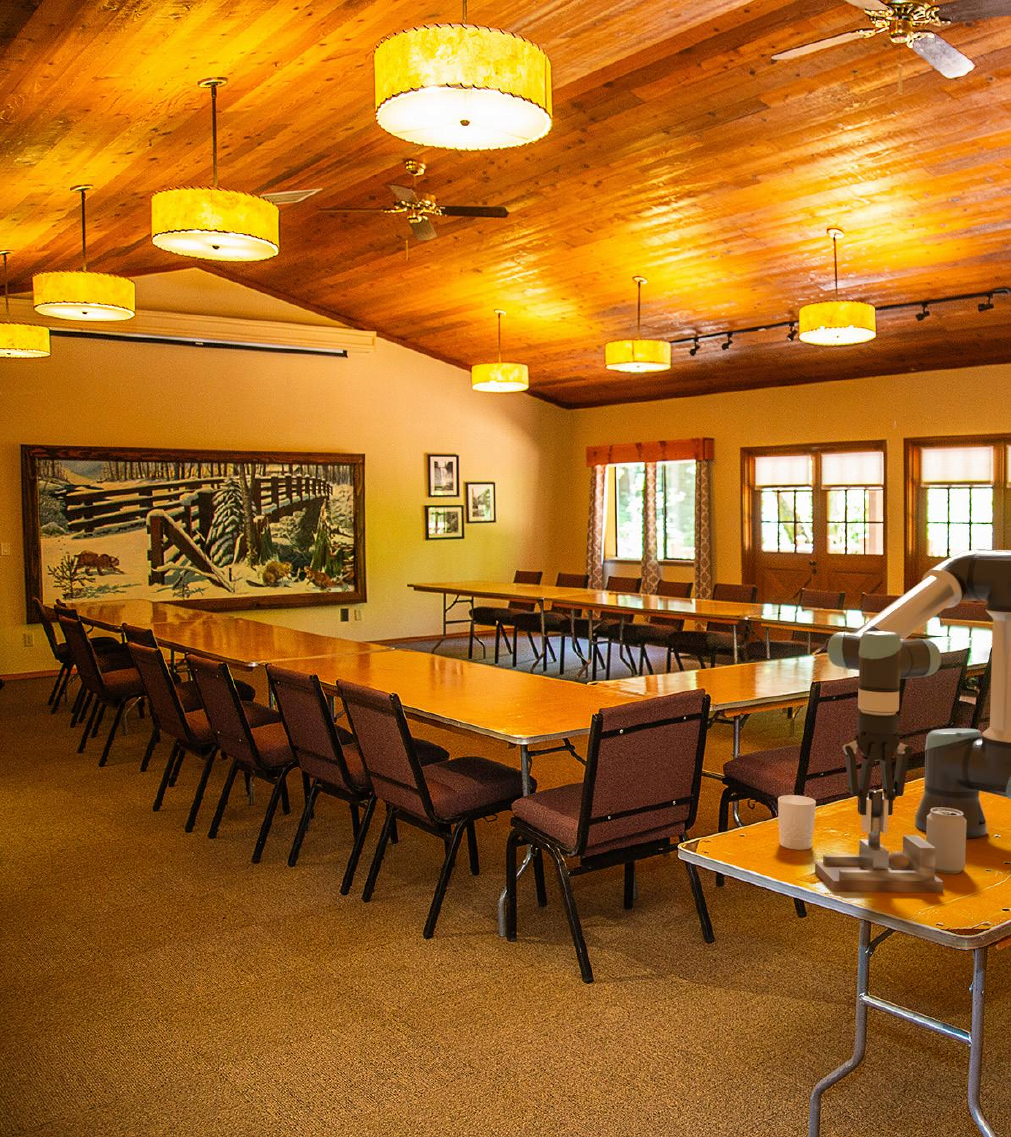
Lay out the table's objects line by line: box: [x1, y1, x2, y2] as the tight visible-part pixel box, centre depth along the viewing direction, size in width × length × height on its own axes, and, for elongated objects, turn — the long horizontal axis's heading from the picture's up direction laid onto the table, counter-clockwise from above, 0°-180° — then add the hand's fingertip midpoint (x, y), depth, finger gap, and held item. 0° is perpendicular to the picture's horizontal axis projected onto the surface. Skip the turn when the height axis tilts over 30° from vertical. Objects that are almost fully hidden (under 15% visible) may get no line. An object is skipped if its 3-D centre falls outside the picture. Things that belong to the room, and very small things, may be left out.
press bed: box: [814, 834, 944, 893], centre depth 202 cm, size 21×11×8 cm, turn 91°
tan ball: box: [888, 850, 909, 871], centre depth 202 cm, size 4×4×4 cm
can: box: [925, 807, 967, 875], centre depth 210 cm, size 8×8×12 cm
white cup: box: [777, 794, 817, 851], centre depth 225 cm, size 8×8×10 cm
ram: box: [858, 789, 890, 870], centre depth 202 cm, size 3×7×16 cm, turn 1°
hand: (874, 831), depth 202 cm, fingers closed on ram, 3 cm apart
